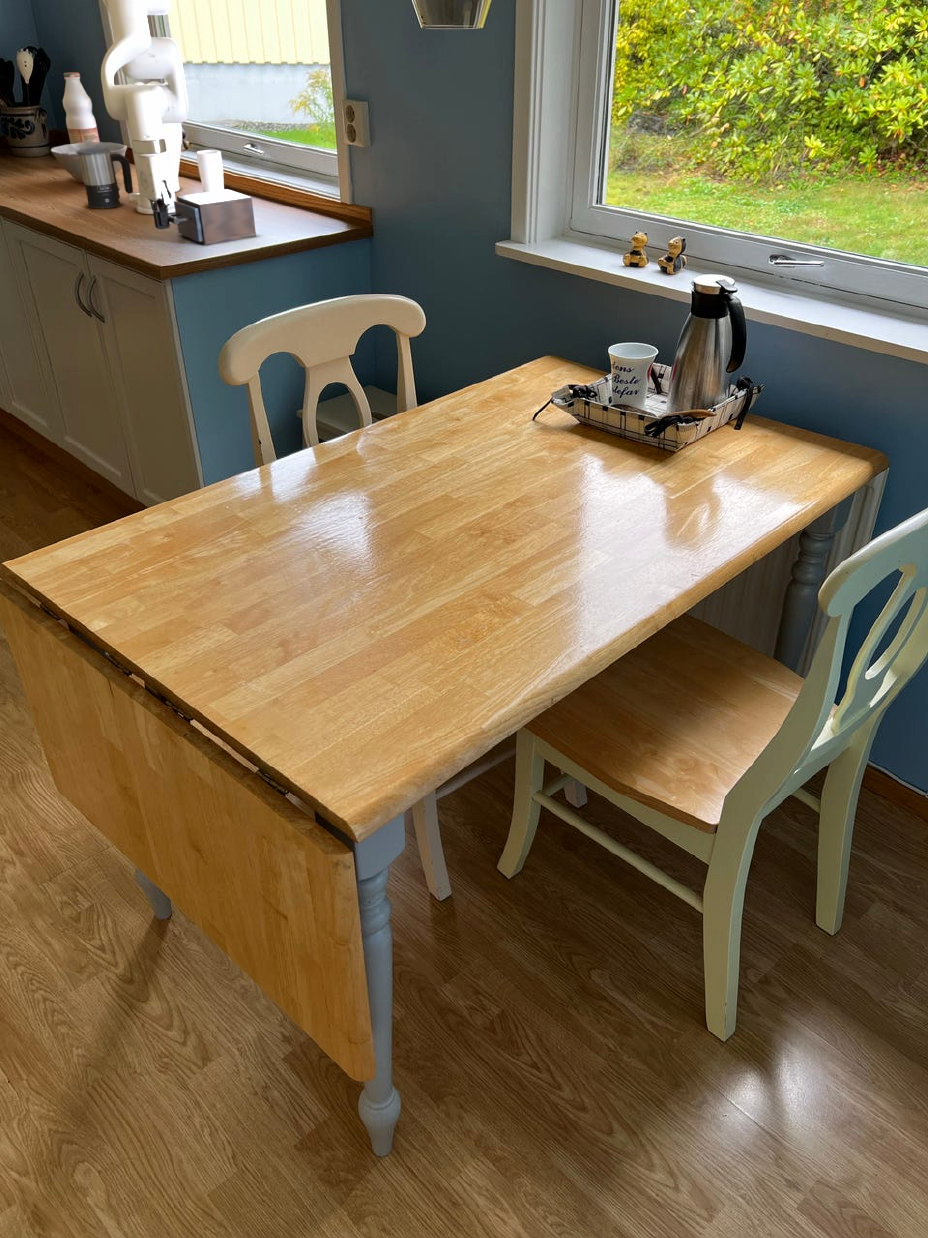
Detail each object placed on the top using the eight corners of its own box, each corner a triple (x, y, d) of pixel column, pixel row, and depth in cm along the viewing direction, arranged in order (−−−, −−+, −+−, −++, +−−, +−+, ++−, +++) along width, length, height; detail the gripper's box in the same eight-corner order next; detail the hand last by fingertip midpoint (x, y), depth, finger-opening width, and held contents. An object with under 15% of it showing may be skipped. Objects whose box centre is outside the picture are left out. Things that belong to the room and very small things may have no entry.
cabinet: (205, 245, 244) (199, 204, 239) (182, 235, 252) (176, 196, 247) (256, 236, 252) (251, 196, 247) (232, 227, 260) (227, 189, 255)
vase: (173, 196, 292) (156, 87, 276) (132, 192, 296) (112, 85, 280) (200, 187, 303) (185, 81, 287) (160, 183, 308) (143, 79, 291)
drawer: (181, 244, 241) (176, 211, 237) (160, 235, 248) (155, 203, 244) (246, 233, 251) (242, 201, 246) (225, 225, 258) (221, 194, 254)
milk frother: (98, 210, 276) (87, 153, 267) (68, 202, 284) (57, 147, 276) (141, 202, 285) (132, 147, 276) (111, 195, 293) (101, 141, 285)
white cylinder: (205, 206, 281) (198, 149, 272) (229, 206, 281) (222, 149, 273) (202, 211, 275) (194, 153, 267) (226, 211, 276) (219, 153, 267)
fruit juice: (71, 168, 328) (52, 74, 312) (80, 163, 336) (61, 71, 320) (99, 168, 329) (81, 74, 313) (107, 163, 336) (90, 71, 320)
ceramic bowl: (147, 179, 313) (141, 145, 308) (90, 191, 297) (83, 156, 292) (101, 172, 323) (94, 139, 317) (43, 183, 307) (35, 148, 301)
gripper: (122, 144, 235) (136, 224, 245) (147, 152, 225) (161, 235, 235) (151, 141, 238) (164, 220, 249) (178, 149, 229) (190, 231, 239)
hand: (162, 227), depth 242 cm, fingers closed
